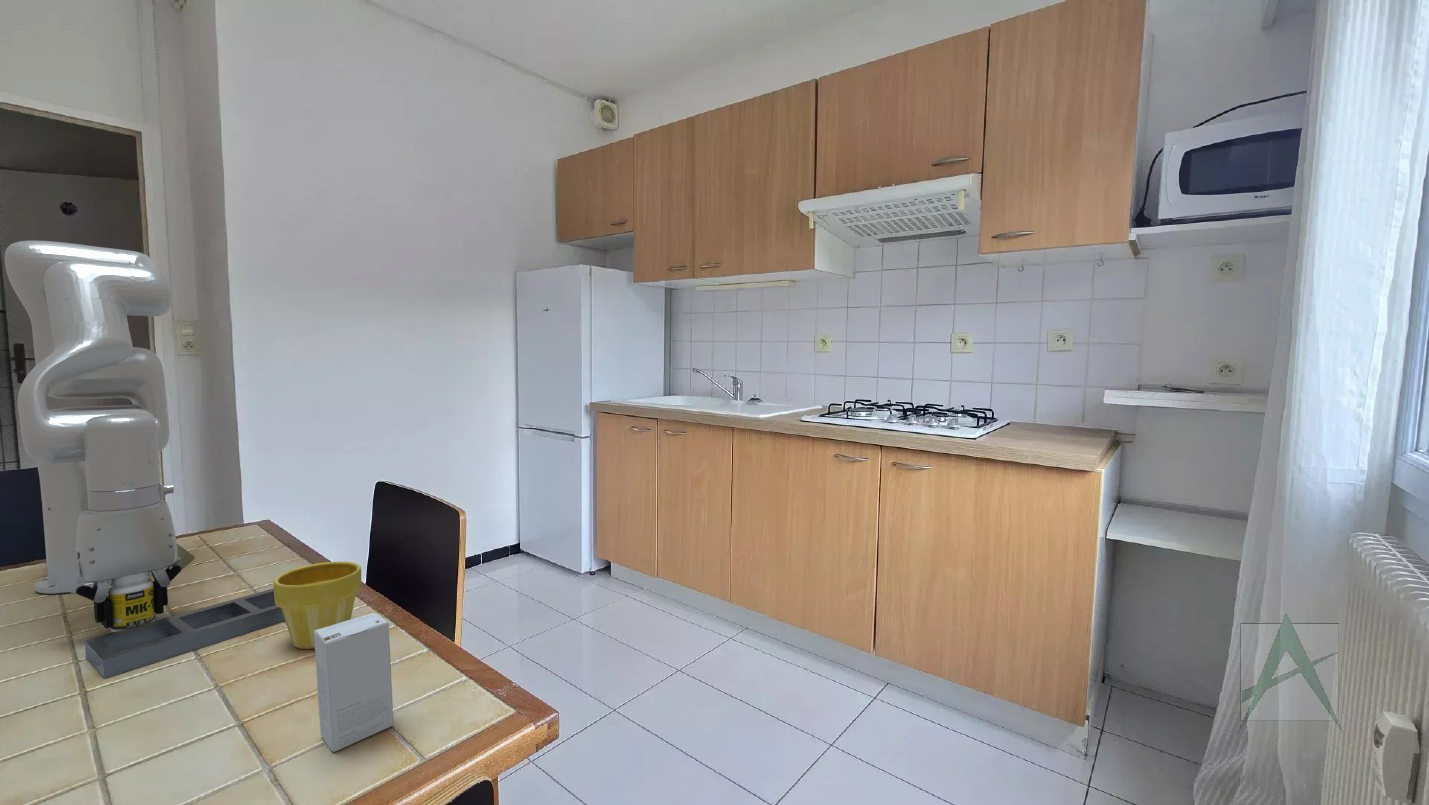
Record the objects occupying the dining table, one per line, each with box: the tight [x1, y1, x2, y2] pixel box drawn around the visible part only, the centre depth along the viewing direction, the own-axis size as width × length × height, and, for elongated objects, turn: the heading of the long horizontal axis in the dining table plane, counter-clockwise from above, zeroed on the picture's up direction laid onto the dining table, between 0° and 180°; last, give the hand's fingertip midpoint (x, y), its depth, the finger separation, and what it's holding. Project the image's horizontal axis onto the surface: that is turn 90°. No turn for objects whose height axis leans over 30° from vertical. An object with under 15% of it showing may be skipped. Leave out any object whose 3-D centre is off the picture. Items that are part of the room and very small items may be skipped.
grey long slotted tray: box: [83, 587, 285, 679], centre depth 86 cm, size 9×25×2 cm, turn 147°
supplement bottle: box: [107, 572, 156, 633], centre depth 86 cm, size 5×5×8 cm
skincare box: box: [314, 612, 394, 753], centre depth 62 cm, size 6×4×12 cm
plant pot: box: [272, 561, 362, 650], centre depth 83 cm, size 10×10×10 cm
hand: (132, 617), depth 86 cm, fingers closed on supplement bottle, 4 cm apart
